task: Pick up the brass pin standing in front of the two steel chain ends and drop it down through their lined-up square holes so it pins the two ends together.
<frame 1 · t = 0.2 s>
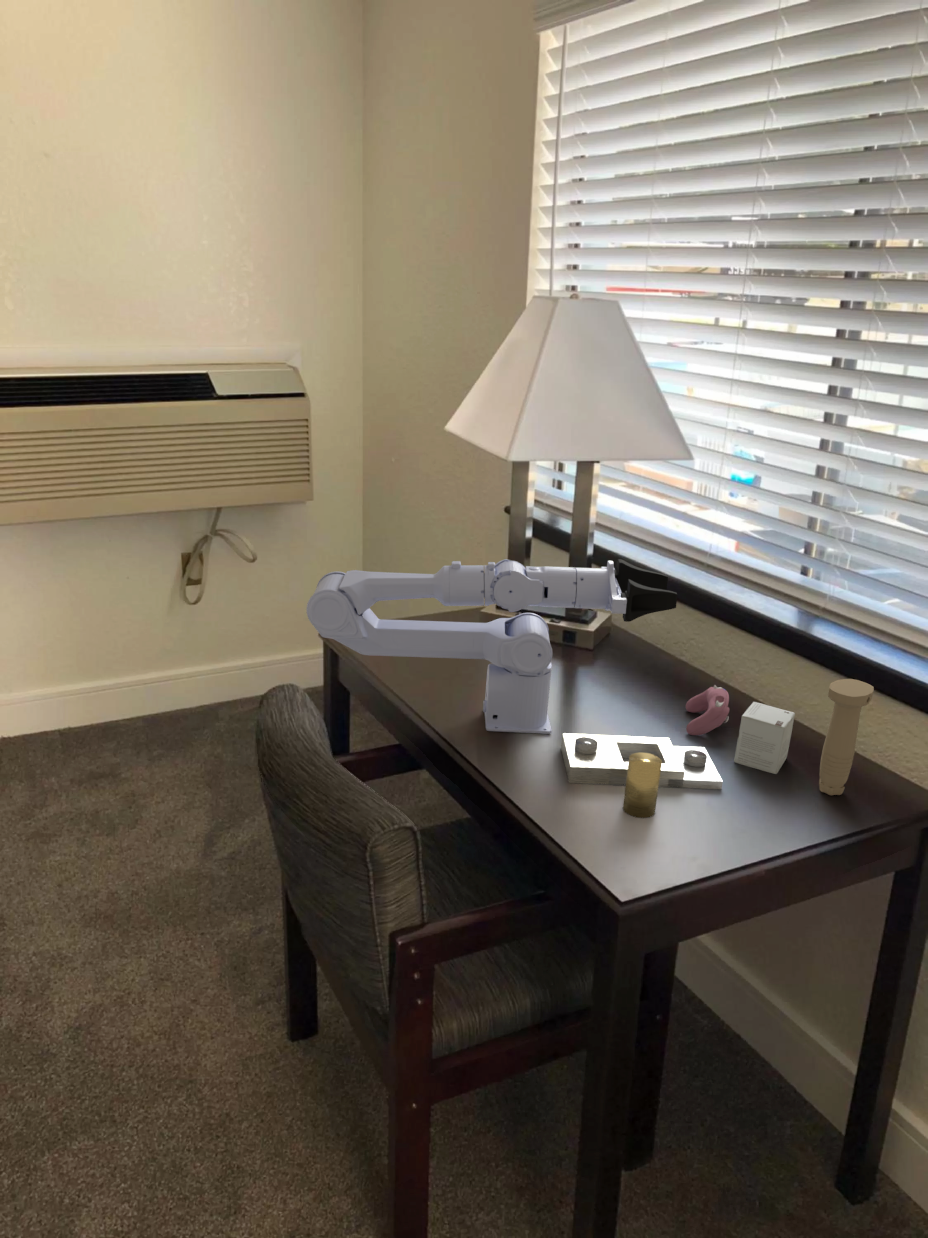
hand: (671, 591, 140), 22 cm above the table, tool horizontal, fingers open, 7 cm apart
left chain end: (638, 768, 135), on the table
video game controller: (704, 726, 150), on the table
skincare box: (760, 762, 140), on the table
handle: (830, 792, 132), on the table
right chain end: (638, 768, 135), on the table
brass pin: (638, 809, 125), on the table
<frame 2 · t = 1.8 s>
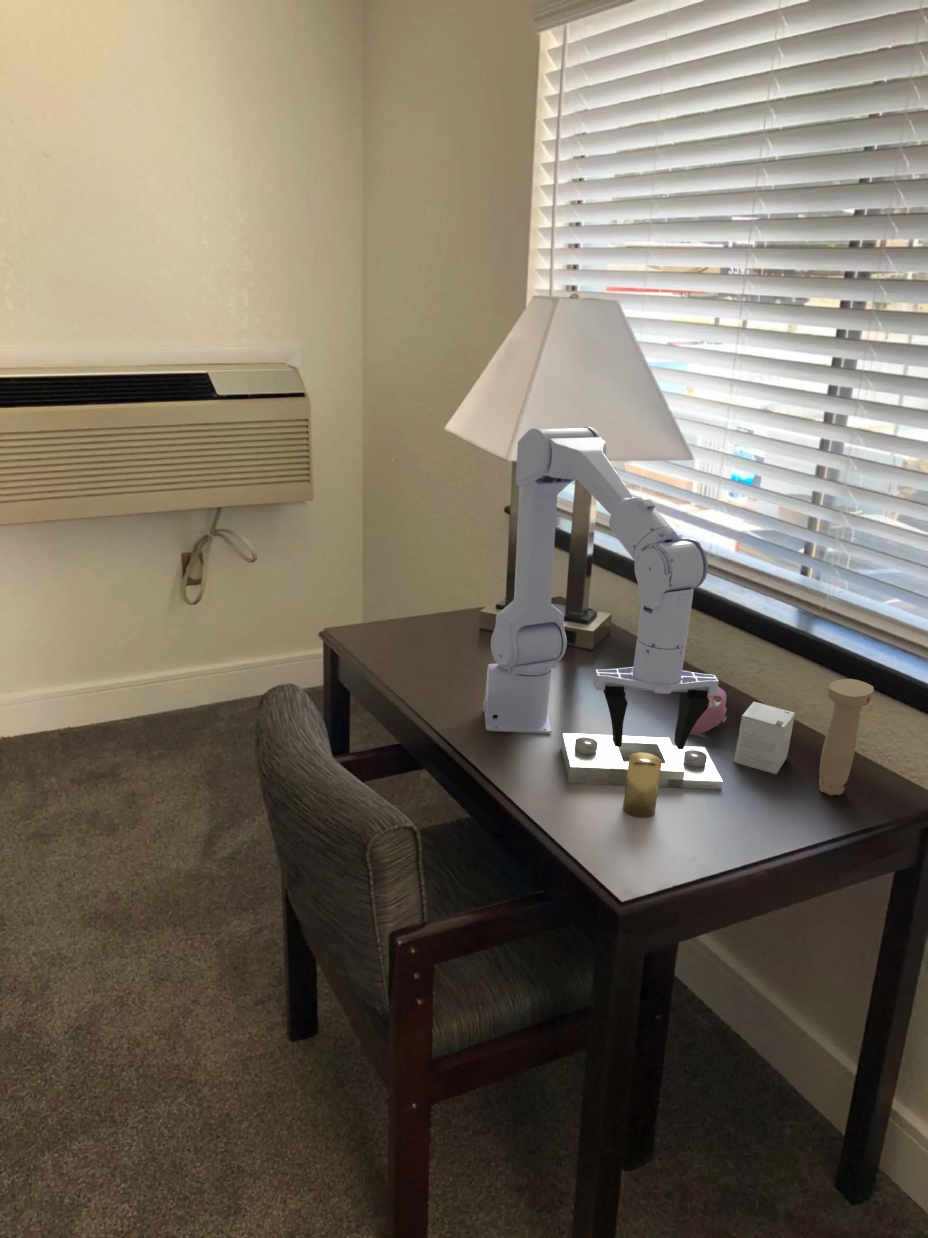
hand: (647, 744, 122), 9 cm above the table, tool pointing down, fingers open, 7 cm apart
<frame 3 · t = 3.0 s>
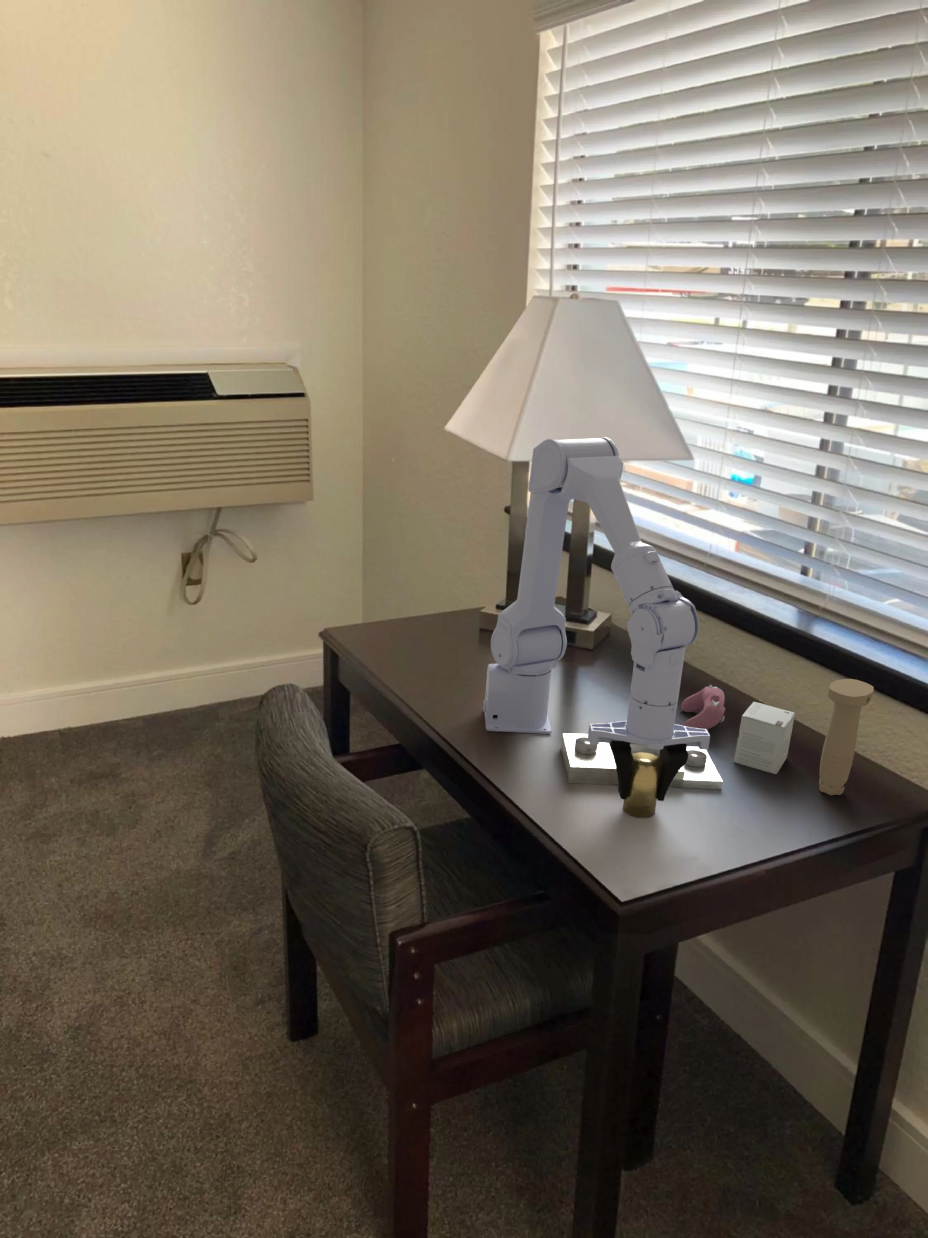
hand: (640, 796, 124), 2 cm above the table, tool pointing down, fingers closed on brass pin, 4 cm apart
brass pin: (638, 809, 125), on the table, touching gripper
everything else where it was.
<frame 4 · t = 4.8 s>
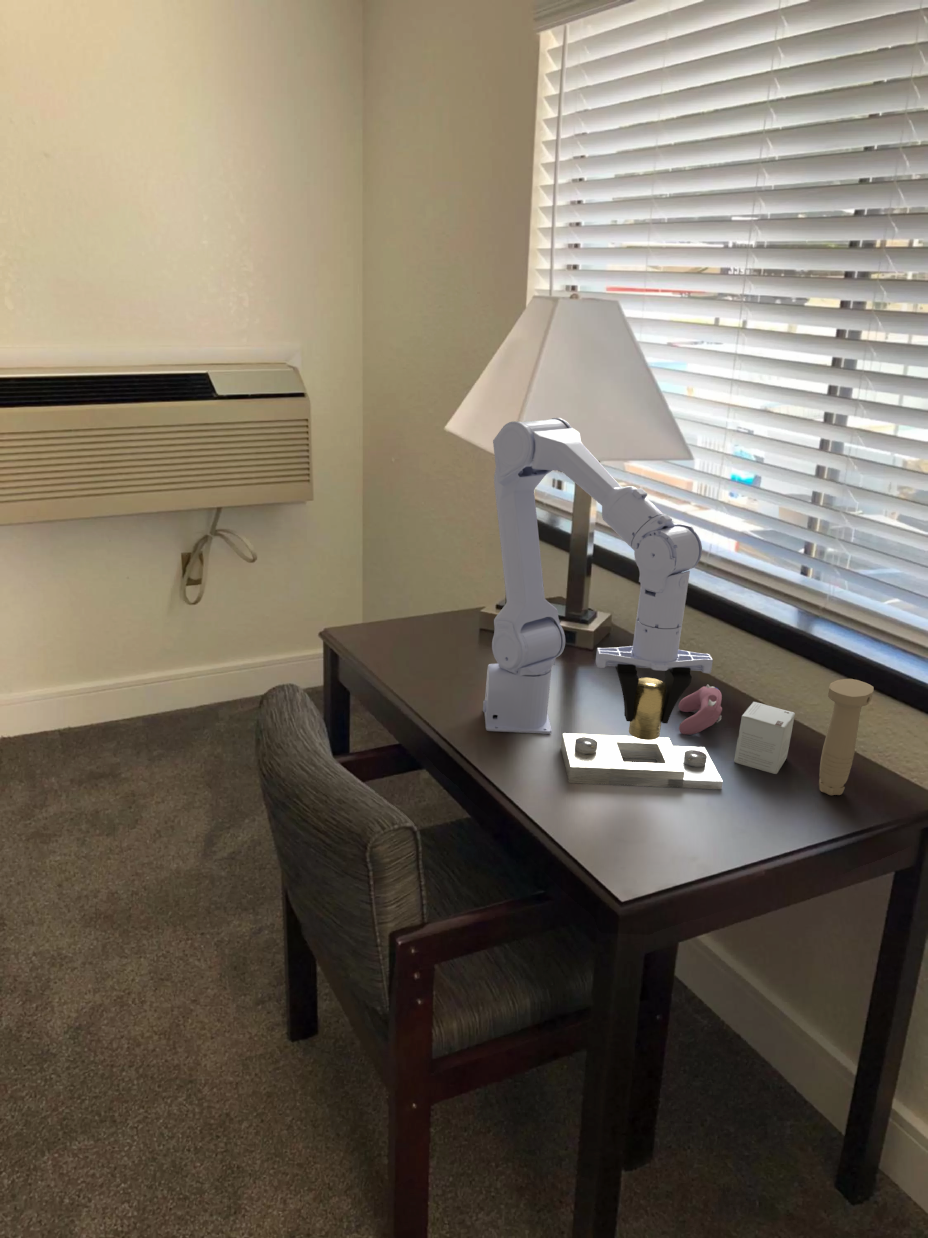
hand: (645, 719, 129), 9 cm above the table, tool pointing down, fingers closed on brass pin, 4 cm apart
brass pin: (644, 733, 130), point 7 cm above the table, touching gripper
when the fingers open (3 cm above the table, at t = 6.8 s): brass pin drops 1 cm, resting in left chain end.
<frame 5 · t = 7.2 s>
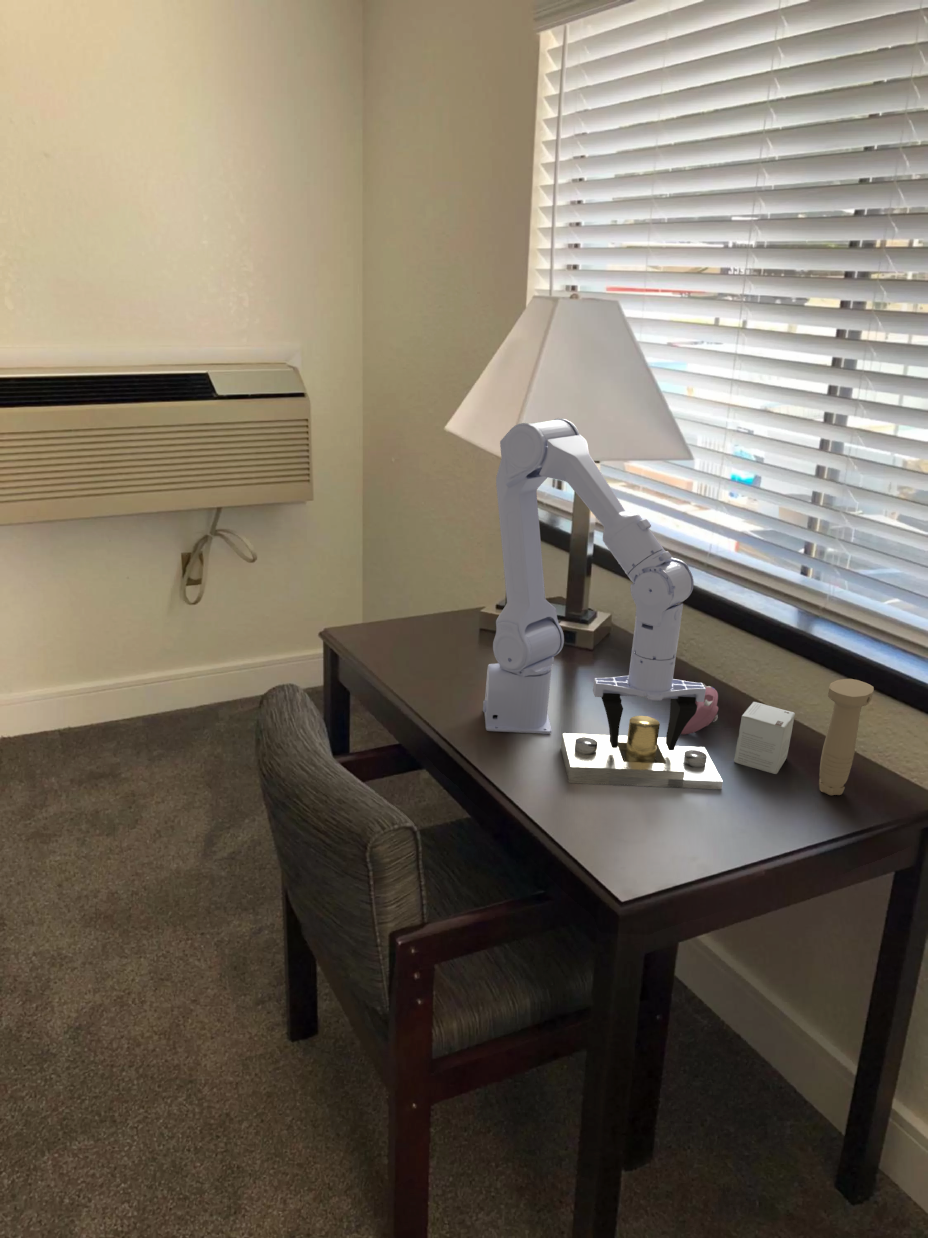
hand: (641, 746, 134), 3 cm above the table, tool pointing down, fingers open, 7 cm apart
brass pin: (638, 768, 135), resting in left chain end
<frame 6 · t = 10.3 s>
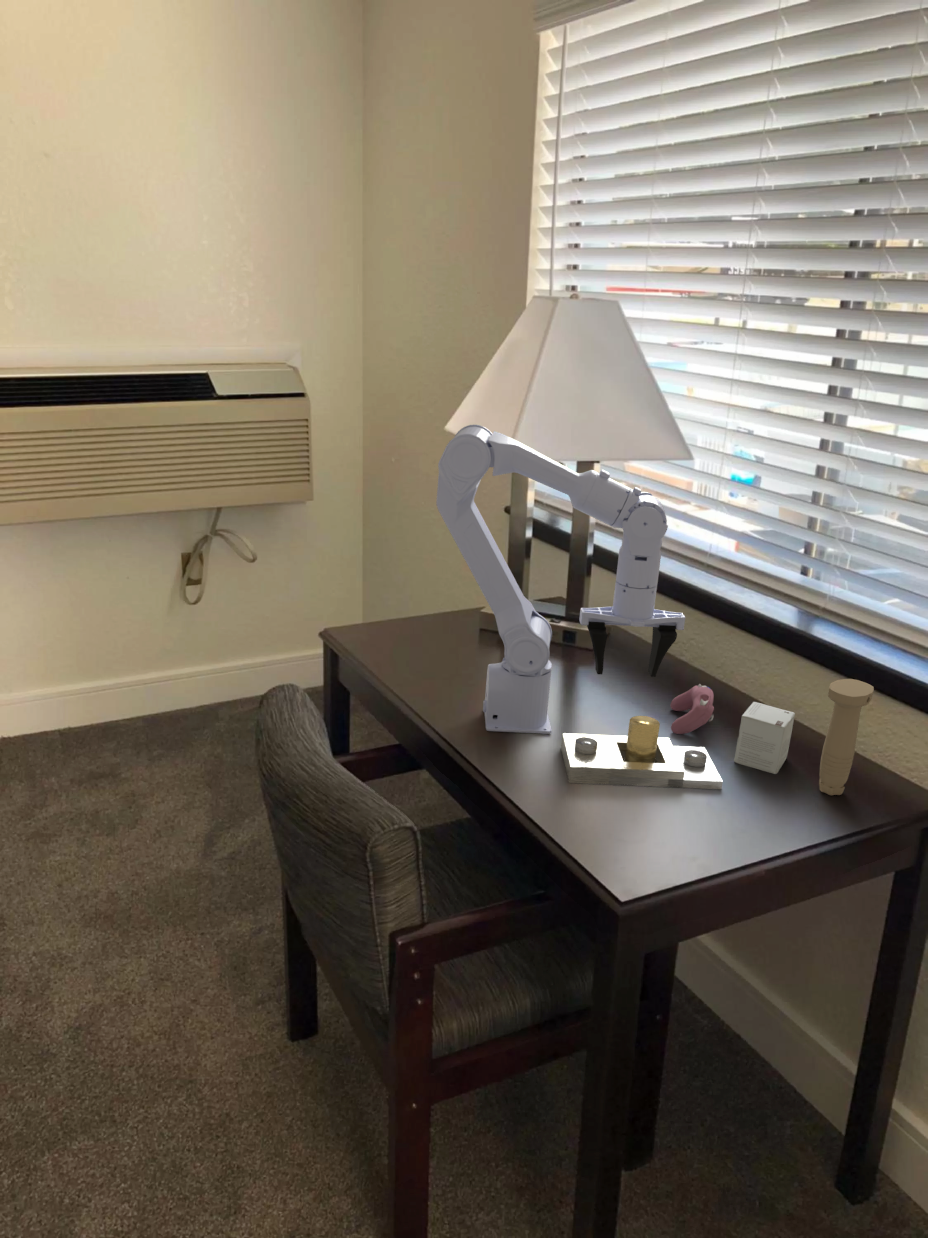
hand: (625, 673, 142), 9 cm above the table, tool pointing down, fingers open, 7 cm apart
at the end: brass pin 0.1 cm off-centre on the right chain end, point 0.0 cm above the right chain end's base; brass pin tilted 0°; the gripper is holding nothing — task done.
